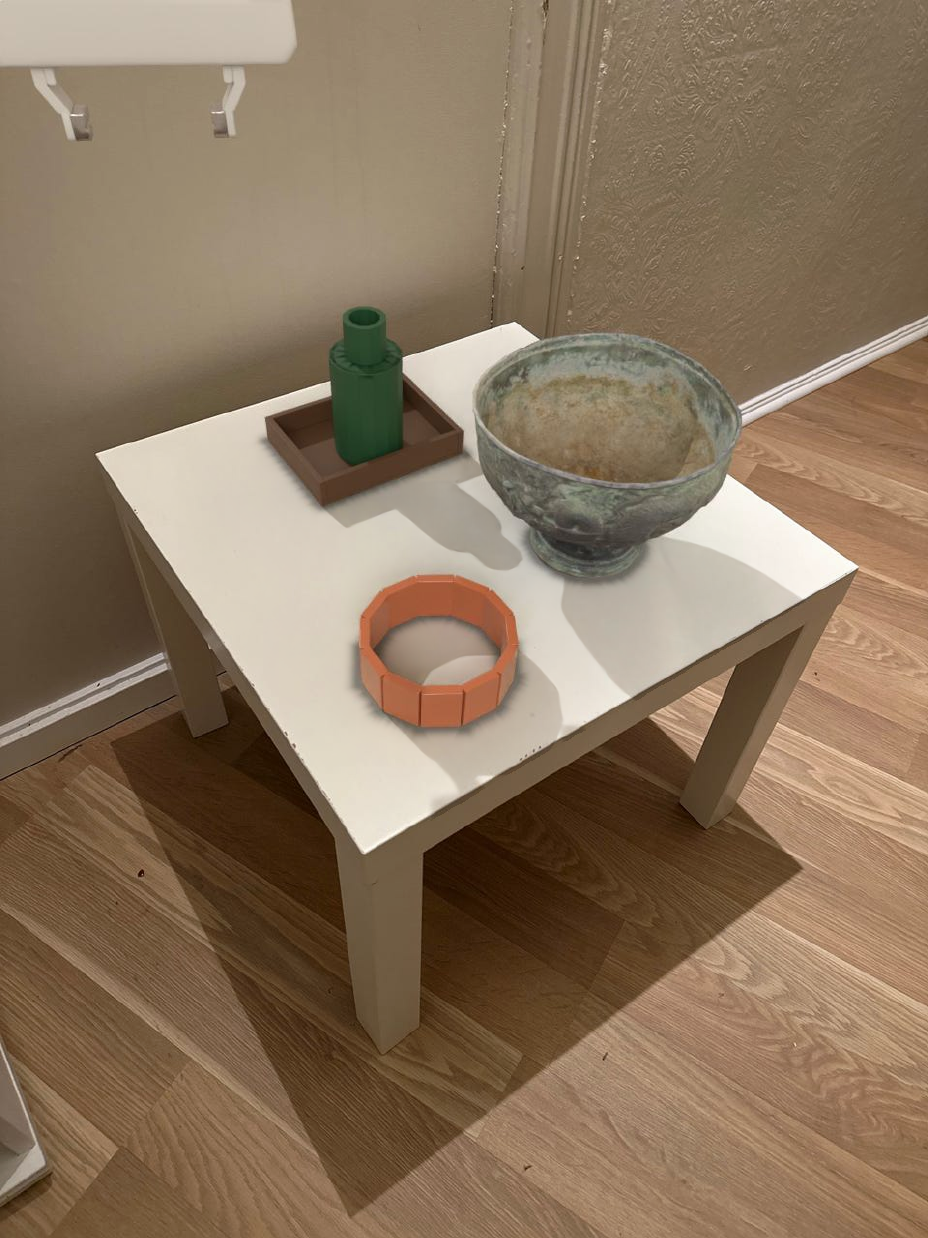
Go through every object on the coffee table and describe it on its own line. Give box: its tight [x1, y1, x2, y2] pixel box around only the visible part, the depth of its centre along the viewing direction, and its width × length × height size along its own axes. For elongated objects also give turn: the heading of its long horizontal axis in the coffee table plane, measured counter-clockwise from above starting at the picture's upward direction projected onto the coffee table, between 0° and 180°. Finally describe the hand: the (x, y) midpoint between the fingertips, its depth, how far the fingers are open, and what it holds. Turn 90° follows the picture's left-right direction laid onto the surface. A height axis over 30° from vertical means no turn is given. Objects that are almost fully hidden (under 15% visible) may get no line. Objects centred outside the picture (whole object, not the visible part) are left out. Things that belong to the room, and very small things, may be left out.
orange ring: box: [358, 574, 520, 728], centre depth 67 cm, size 12×12×4 cm
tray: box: [264, 372, 465, 507], centre depth 85 cm, size 15×11×3 cm
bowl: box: [471, 331, 743, 579], centre depth 73 cm, size 20×19×15 cm
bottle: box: [328, 305, 404, 466], centre depth 80 cm, size 6×6×14 cm
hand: (154, 136), depth 60 cm, fingers open, 8 cm apart
